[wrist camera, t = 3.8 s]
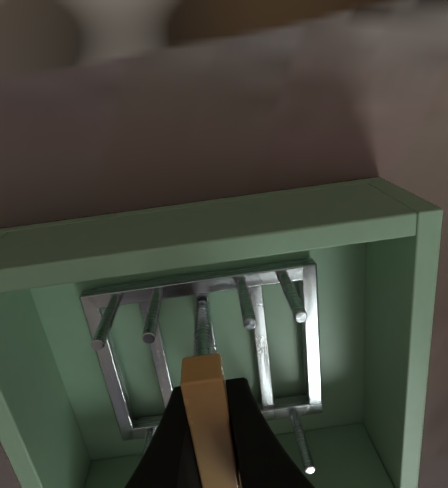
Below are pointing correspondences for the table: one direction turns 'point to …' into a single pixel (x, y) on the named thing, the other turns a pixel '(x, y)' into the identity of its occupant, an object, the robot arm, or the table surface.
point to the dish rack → (211, 357)
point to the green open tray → (225, 328)
